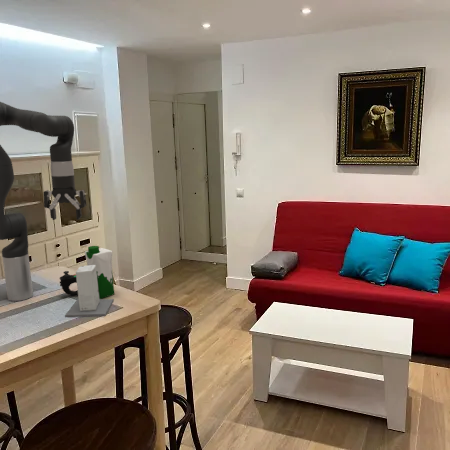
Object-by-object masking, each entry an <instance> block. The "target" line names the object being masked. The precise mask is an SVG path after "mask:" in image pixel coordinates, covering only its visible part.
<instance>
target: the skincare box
mask: <svg viewBox="0 0 450 450" xmlns="http://www.w3.org/2000/svg"><path fill="white" fill-rule="evenodd" d="M75 274H76V280H77V283H76V287H77V288H76V289H77V290H78V295H77V298H78V300H79V307H80V311H93V310H96V308H97V306H98V304H99V302H100V300H99V291H98V281H97V273H96V265H87V264H86V265H80V266H79V267H78V268H77V269H76V271H75Z"/></svg>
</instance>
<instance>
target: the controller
mask: <svg viewBox="0 0 450 450" xmlns="http://www.w3.org/2000/svg"><path fill="white" fill-rule="evenodd" d="M63 274H64V275H62V276H59V280H60V281H59V286H60V287H61V288H62V290H63V292H64V293H65V294H67V295H68V296H73V297H75V296H76V297H77V296H78V289H77V290H71V289H70V286H71V285H72V284H77V280H76V273H74V274H69V271H68V270H65V271H63Z"/></svg>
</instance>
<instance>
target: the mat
mask: <svg viewBox="0 0 450 450" xmlns="http://www.w3.org/2000/svg"><path fill="white" fill-rule="evenodd" d="M99 300H100V302H99V304H98V306H97V308H96V310H93V311H80V307H79V299H76V300H75V302H74V303H73V304H72V305H71V306H70V307H69V309H68V311H67V312H66V313H65V315H64V317H65V318H81V317H82V318H83V317H106V316H107V314H108V313H109V310H110V309H111V307H112V304H113V303H114V301H115V300H114V298H110V299H109V298H102V299H99Z"/></svg>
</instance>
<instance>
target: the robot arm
mask: <svg viewBox="0 0 450 450" xmlns="http://www.w3.org/2000/svg"><path fill="white" fill-rule="evenodd" d="M2 126H16V127H19V128H21V129H23V130H26V131H30V132H34V133H39V134H41V135H43V136H47V137H52V138H56V137H57V140H56V142H55V143H53V144H51V145H50V147H49V155H50V156H49V157H50V158H49V159H50V176H51V187H52V190H48V189H47V190H44V191H43V207H44V208H45V209H49V213H50V215H49V216H50V218H51V219H52V220H57V210H56V206H57V205H58V204H59V203H60V204H63V203H64V204H65V203H66V204H69V203H71V205H72V206H74V207H75V208H76V209H75V215H76V221H77V220H81V218H82V217H83V214H82V213H83V212H82V208H83V209H84V208H85V207H86V206H87V199H86V191H85V189H82V190H76V183H75V170H74V164H73V157H72V145H73V141H74V135H75V124H74V122H73V120H72V119H71V118H70V116H67V115H50V114H46V113H45V112H44V113H43V112H40V111H35V110H30V109H21V108H16V107H15V106H12V105H9V104H7V103H4V102H2V101H0V127H2ZM14 182H15V174H14V167H13V163H12V159H11V158H10V156H9V154H8V153H7V151H6V150H5V149H4V147H3V146H2V145H1V144H0V241H4V240H10V239H13V240H12V242H10V243H9V244H7V245H6V246H4V247H3V248H2V249H1V258H2V264H3V272H4V279H5V280H4V281H5V288H6V296H7V300H8V301H11V302H12V301H13V302H15V301H16V302H19V301H25V300H28V299H30V298H32V297H33V296H34V291H33V283H32V274H31V273H32V272H31V263H30V256H29V238H28V237H29V236H28V223H27V219H26V216H25V215H24V214H23V213H21V212H15V213H8V214H5V205H6V203H5V202H6V201H7V197H8V195H9V192H10V190H12V189H11V188H12V186H13V184H14ZM51 196H53V198H54V199H53V200H52V202H51V201H50V197H51ZM76 196H78V197H79V198H80V202H79V201H78V199H77V198H76Z"/></svg>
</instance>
